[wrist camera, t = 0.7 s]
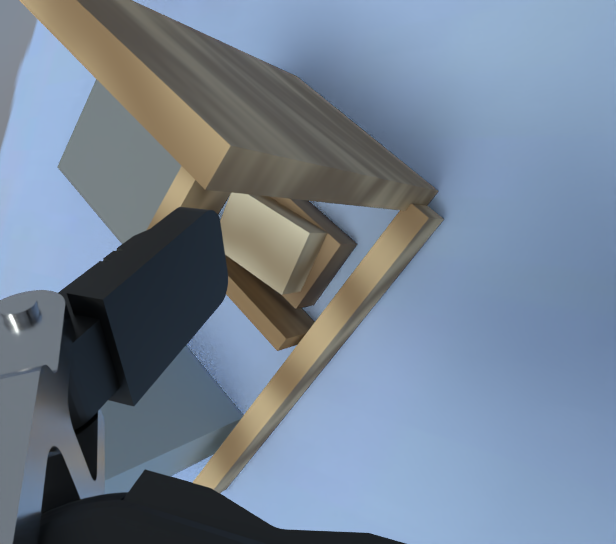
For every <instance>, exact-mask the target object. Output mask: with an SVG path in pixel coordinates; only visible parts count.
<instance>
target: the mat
mask: <svg viewBox="0 0 616 544" xmlns="http://www.w3.org/2000/svg"><path fill="white" fill-rule="evenodd" d="M58 168H59V170H60V171H61V172H62V173H63V174H64V176H65V177H66V178H67V179H68V180H69V182H70V183H71V184H72V185H73V186H74V188H75V189H76V190H77V191H78V192H79V193H80V195H81V196H82V197H83V198H84V199H85V201H86V202H87V203H88V204H89V205H90V207H91V208H92V209H93V210H94V211H95V212H96V214H97V215H98V216H99V217H100V218H101V220H102V221H103V222H104V223H105V224H106V226H107V227H108V228H109V229H110V230H111V232H112V233H113V234H114V235H115V236H116V237H117V239H118V240H119V241H120V242H121V243H122V244H123V243H125V242H126V241H127V240H129V239H130V238H131V237H133V236H134V235H137V234H139V233H141V232H144V231H146V230H147V228H148V226H149V225H150V223H151V221H152V219H153V217H154V215H155V214H156V212H157V210H158V208H159V206H160V205H161V203H162V201H163V199H164V197H165V195H166V194H167V192H168V190H169V188H170V186H171V184H172V183H173V181H174V179H175V177H176V175H177V174H178V172H179V170H180V168H181V165H180V164H179V163H178V162H177V161H176V160H175V159H174V158H173V157H172V155H171V154H170V153H169V152H168V151H167V150H166V149H165V148H164V147H163V146H162V145H161V144H160V143H159V142H158V141H157V140H156V139H155V138H154V137H153V136H152V135H151V134H150V133H149V132H148V131H147V130H146V129H145V128H144V127H143V126H142V125H141V124H140V123H139V122H138V121H137V120H136V119H135V118H134V117H133V116H132V115H131V114H130V113H129V112H128V111H127V110H126V109H125V108H124V107H123V106H122V105H121V103H120V102H119V101H118V100H117V99H116V98H115V97H114V96H113V95H112V94H111V93H110V92H109V91H108V90H107V89H106V88H105V87H104V86H103V85H102V84H101V83H100V82H99V81H98V80H97V79H96V81H95V84H94V86H93V88H92V90H91V93H90V95H89V97H88V99H87V102H86V104H85V106H84V108H83V111H82V113H81V115H80V117H79V120H78V122H77V124H76V126H75V129H74V131H73V133H72V135H71V138H70V140H69V142H68V144H67V147H66V149H65V151H64V153H63V156H62V158H61V160H60V162H59V165H58Z"/></svg>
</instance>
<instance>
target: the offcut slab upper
mask: <svg viewBox="0 0 616 544" xmlns="http://www.w3.org/2000/svg"><path fill="white" fill-rule="evenodd" d="M220 223H221V230H222V236H223V243H224V250H225V255H227V256H228V257H230V258H231V259H232V260H234V261H235V262H237V263H238V264H239V265H241V266H242V267H244V268H245V269H246V270H248V271H249V272H251V273H252V274H253V275H255V276H256V277H258V278H259V279H260V280H262V281H263V282H265V283H266V284H267V285H269V286H270V287H272V288H273V289H274V290H276V291H277V292H279V293H280V294H281V295H284V294H289V293H295V292H300V291H301V289H302V287H303V285H304V283H305V281H306V279H307V276H308V274H309V272H310V270H311V268H312V266H313V264H314V261H315V259H316V257H317V255H318V253H319V251H320V248H321V246H322V244H323V242H324V240H325V238H326V236H327V232H325V231H324V230H322V229H321V228H319V227H317V226H316V225H314V224H312V223H311V222H309V221H308V220H306V219H304V218H303V217H301V216H299V215H298V214H296V213H295V212H293V211H291V210H290V209H288V208H287V207H285V206H283V205H282V204H280V203H278V202H277V201H275V200H274V199H272V198H270V197H269V196H260V195H250V194H241V193H231V194H230V197H229V200H228V202H227V205H226V207H225V210H224V212H223V215H222V218H221V220H220Z"/></svg>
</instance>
